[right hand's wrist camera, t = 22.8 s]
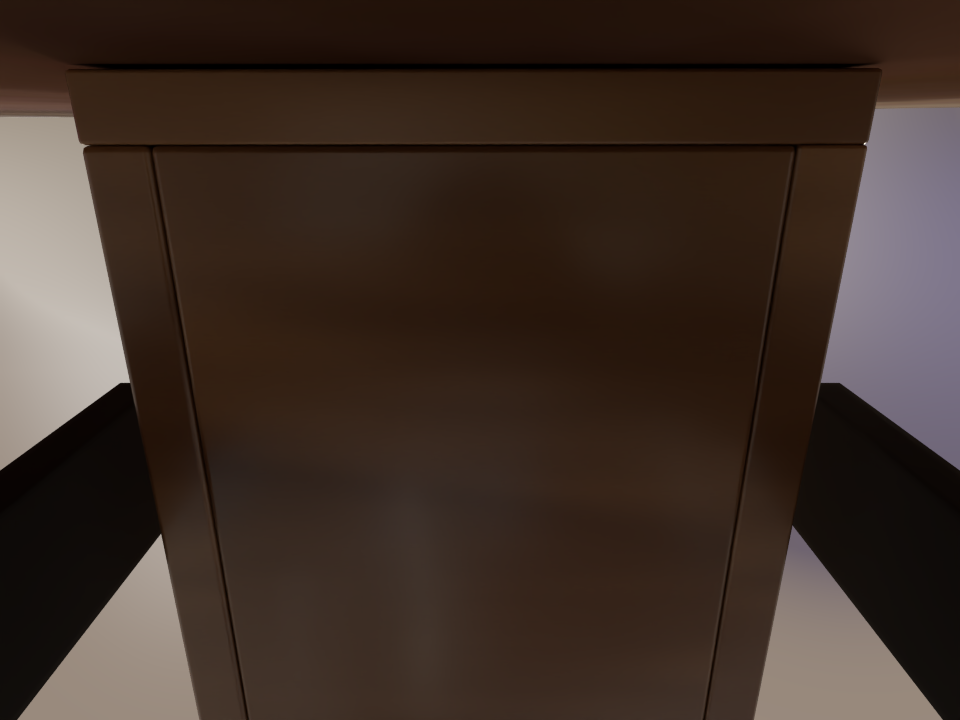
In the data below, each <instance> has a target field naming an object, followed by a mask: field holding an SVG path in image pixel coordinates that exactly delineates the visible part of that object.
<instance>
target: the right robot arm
mask: <svg viewBox="0 0 960 720" xmlns="http://www.w3.org/2000/svg"><path fill="white" fill-rule="evenodd" d="M793 526H794V528H795V529H796V530H797V532H798V533H799V534H800V535H801V537H802V538H803V539H804V541H805V542H806V543H807V545H808V546H809V547H810V548H811V550H812V551H813V552H814V554H815V555H816V556H817V557H818V559H819V560H820V561H821V563H822V564H823V565H824V566H825V568H826V569H827V570H828V572H829V573H830V574H831V576H832V577H833V578H834V579H835V581H836V582H837V583H838V585H839V586H840V587H841V589H842V590H843V591H844V592H845V594H846V595H847V596H848V598H849V599H850V600H851V601H852V603H853V604H854V605H855V607H856V608H857V609H858V610H859V612H860V613H861V614H862V616H863V617H864V618H865V620H866V621H867V622H868V623H869V625H870V626H871V627H872V629H873V630H874V631H875V633H876V634H877V635H878V636H879V638H880V639H881V640H882V642H883V643H884V644H885V645H886V647H887V648H888V649H889V651H890V652H891V653H892V655H893V656H894V657H895V658H896V660H897V661H898V662H899V664H900V665H901V666H902V667H903V669H904V670H905V671H906V673H907V674H908V675H909V676H910V678H911V679H912V680H913V682H914V683H915V684H916V686H917V687H918V688H919V689H920V691H921V692H922V693H923V695H924V696H925V697H926V698H927V700H928V701H929V702H930V704H931V705H932V706H933V708H934V709H935V710H936V711H937V713H938V714H939V715H940V717H941V718H942V719H943V720H960V470H958V469H957V468H956V467H954V466H953V465H951V464H950V463H949V462H947V461H946V460H944V459H943V458H942V457H940V456H939V455H938V454H936V453H935V452H934V451H932V450H931V449H929V448H928V447H927V446H925V445H924V444H923V443H921V442H920V441H918V440H917V439H916V438H914V437H913V436H912V435H910V434H909V433H908V432H906V431H905V430H903V429H902V428H901V427H899V426H898V425H897V424H895V423H894V422H892V421H891V420H890V419H888V418H887V417H886V416H884V415H883V414H881V413H880V412H879V411H877V410H876V409H875V408H873V407H872V406H871V405H869V404H868V403H866V402H865V401H864V400H862V399H861V398H859V397H858V396H857V395H855V394H854V393H853V392H851V391H850V390H849V389H847V388H846V387H844V386H843V385H842V384H840V383H820V388H819V393H818V399H817V404H816V409H815V414H814V419H813V424H812V429H811V434H810V439H809V444H808V449H807V454H806V459H805V464H804V469H803V474H802V479H801V484H800V489H799V494H798V499H797V504H796V509H795V515H794V520H793ZM160 534H161V530H160V525H159V520H158V515H157V510H156V505H155V501H154V496H153V491H152V486H151V481H150V476H149V471H148V467H147V462H146V457H145V452H144V447H143V442H142V437H141V433H140V428H139V423H138V418H137V413H136V408H135V403H134V398H133V394H132V389H131V384H130V383H120V384H118V385H117V386H116V387H114V388H113V389H111V390H110V391H109V392H107V393H106V394H105V395H103V396H102V397H101V398H99V399H98V400H96V401H95V402H94V403H92V404H91V405H90V406H88V407H87V408H85V409H84V410H83V411H81V412H80V413H79V414H77V415H76V416H74V417H73V418H72V419H70V420H69V421H68V422H66V423H65V424H63V425H62V426H61V427H59V428H58V429H57V430H55V431H54V432H52V433H51V434H50V435H48V436H47V437H46V438H44V439H43V440H42V441H40V442H39V443H37V444H36V445H35V446H33V447H32V448H31V449H29V450H28V451H26V452H25V453H24V454H22V455H21V456H20V457H18V458H17V459H15V460H14V461H13V462H11V463H10V464H9V465H7V466H6V467H4V468H3V469H2V470H0V720H17V719H18V718H19V717H20V715H21V714H22V713H23V711H24V710H25V709H26V708H27V706H28V705H29V704H30V702H31V701H32V700H33V698H34V697H35V696H36V695H37V693H38V692H39V691H40V689H41V688H42V687H43V686H44V684H45V683H46V682H47V680H48V679H49V678H50V676H51V675H52V674H53V673H54V671H55V670H56V669H57V667H58V666H59V665H60V664H61V662H62V661H63V660H64V658H65V657H66V656H67V655H68V653H69V652H70V651H71V649H72V648H73V647H74V645H75V644H76V643H77V642H78V640H79V639H80V638H81V636H82V635H83V634H84V633H85V631H86V630H87V629H88V627H89V626H90V625H91V623H92V622H93V621H94V620H95V618H96V617H97V616H98V614H99V613H100V612H101V610H102V609H103V608H104V607H105V605H106V604H107V603H108V601H109V600H110V599H111V598H112V596H113V595H114V594H115V592H116V591H117V590H118V589H119V587H120V586H121V585H122V583H123V582H124V581H125V579H126V578H127V577H128V576H129V574H130V573H131V572H132V570H133V569H134V568H135V567H136V565H137V564H138V563H139V561H140V560H141V559H142V557H143V556H144V555H145V554H146V552H147V551H148V550H149V548H150V547H151V546H152V545H153V543H154V542H155V541H156V539H157V538H158V537H159V535H160Z"/></svg>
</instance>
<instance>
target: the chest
mask: <svg viewBox="0 0 960 720" xmlns="http://www.w3.org/2000/svg"><path fill="white" fill-rule="evenodd" d="M65 75H66V80H67V85H68V90H69V95H70V100H71V105H72V109H73V114H74V119H75V124H76V129H77V134H78V138H79V142H80V143H81V144H83V145H89V146H87V147H85V148H84V150H83V155H84V160H85V165H86V170H87V175H88V180H89V184H90V189H91V194H92V199H93V204H94V209H95V214H96V218H97V223H98V228H99V233H100V238H101V243H102V248H103V253H104V257H105V262H106V267H107V272H108V277H109V282H110V287H111V291H112V296H113V301H114V306H115V311H116V316H117V320H118V325H119V330H120V335H121V340H122V345H123V350H124V354H125V360H126V364H127V369H128V374H129V379H130V384H131V389H132V394H133V398H134V403H135V408H136V413H137V418H138V423H139V428H140V433H141V437H142V442H143V447H144V452H145V457H146V462H147V467H148V471H149V476H150V481H151V486H152V491H153V496H154V501H155V505H156V510H157V515H158V520H159V525H160V530H161V535H162V539H163V544H164V549H165V554H166V559H167V564H168V569H169V573H170V578H171V583H172V588H173V593H174V598H175V603H176V608H177V613H178V617H179V622H180V627H181V632H182V637H183V642H184V647H185V651H186V656H187V661H188V666H189V671H190V676H191V681H192V685H193V690H194V695H195V700H196V705H197V710H198V715H199V719H200V720H754V716H755V711H756V706H757V701H758V696H759V691H760V686H761V681H762V676H763V671H764V666H765V661H766V655H767V651H768V646H769V641H770V636H771V631H772V625H773V620H774V615H775V610H776V605H777V600H778V595H779V590H780V585H781V580H782V575H783V570H784V565H785V560H786V555H787V550H788V545H789V540H790V535H791V530H792V525H793V520H794V515H795V509H796V504H797V499H798V494H799V489H800V484H801V479H802V474H803V469H804V464H805V459H806V454H807V449H808V444H809V439H810V434H811V429H812V424H813V419H814V414H815V409H816V404H817V399H818V393H819V388H820V383H821V378H822V373H823V368H824V363H825V358H826V353H827V348H828V343H829V338H830V333H831V328H832V323H833V318H834V313H835V308H836V303H837V298H838V293H839V287H840V283H841V277H842V272H843V267H844V262H845V257H846V252H847V247H848V242H849V237H850V232H851V227H852V222H853V217H854V212H855V207H856V202H857V197H858V192H859V187H860V182H861V177H862V171H863V167H864V161H865V156H866V151H867V146H865V145H863V144H865V143H867V142H868V140H869V136H870V131H871V126H872V121H873V116H874V111H875V106H876V101H877V96H878V91H879V86H880V81H881V76H882V70H881V69H879V68H526V69H68V70H66V71H65Z"/></svg>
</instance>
